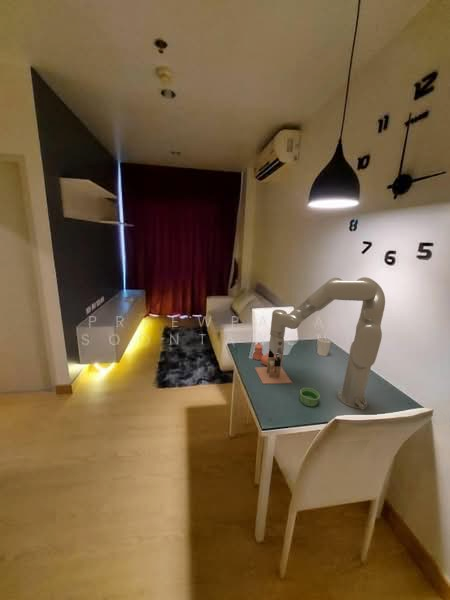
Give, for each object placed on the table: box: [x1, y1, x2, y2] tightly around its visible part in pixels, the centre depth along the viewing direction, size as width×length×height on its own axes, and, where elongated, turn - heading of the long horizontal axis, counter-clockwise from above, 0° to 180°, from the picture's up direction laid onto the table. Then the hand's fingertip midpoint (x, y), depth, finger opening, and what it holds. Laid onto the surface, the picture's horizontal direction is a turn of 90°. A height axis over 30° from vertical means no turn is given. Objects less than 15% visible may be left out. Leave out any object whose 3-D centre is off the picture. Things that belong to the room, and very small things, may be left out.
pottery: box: [252, 342, 284, 369], centre depth 153 cm, size 18×10×10 cm, turn 46°
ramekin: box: [299, 387, 321, 407], centre depth 118 cm, size 9×9×4 cm
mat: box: [254, 366, 293, 385], centre depth 138 cm, size 16×16×1 cm
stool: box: [266, 357, 283, 377], centre depth 137 cm, size 6×6×9 cm
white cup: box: [316, 337, 332, 357], centre depth 167 cm, size 8×8×10 cm
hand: (274, 361), depth 136 cm, fingers open, 9 cm apart
